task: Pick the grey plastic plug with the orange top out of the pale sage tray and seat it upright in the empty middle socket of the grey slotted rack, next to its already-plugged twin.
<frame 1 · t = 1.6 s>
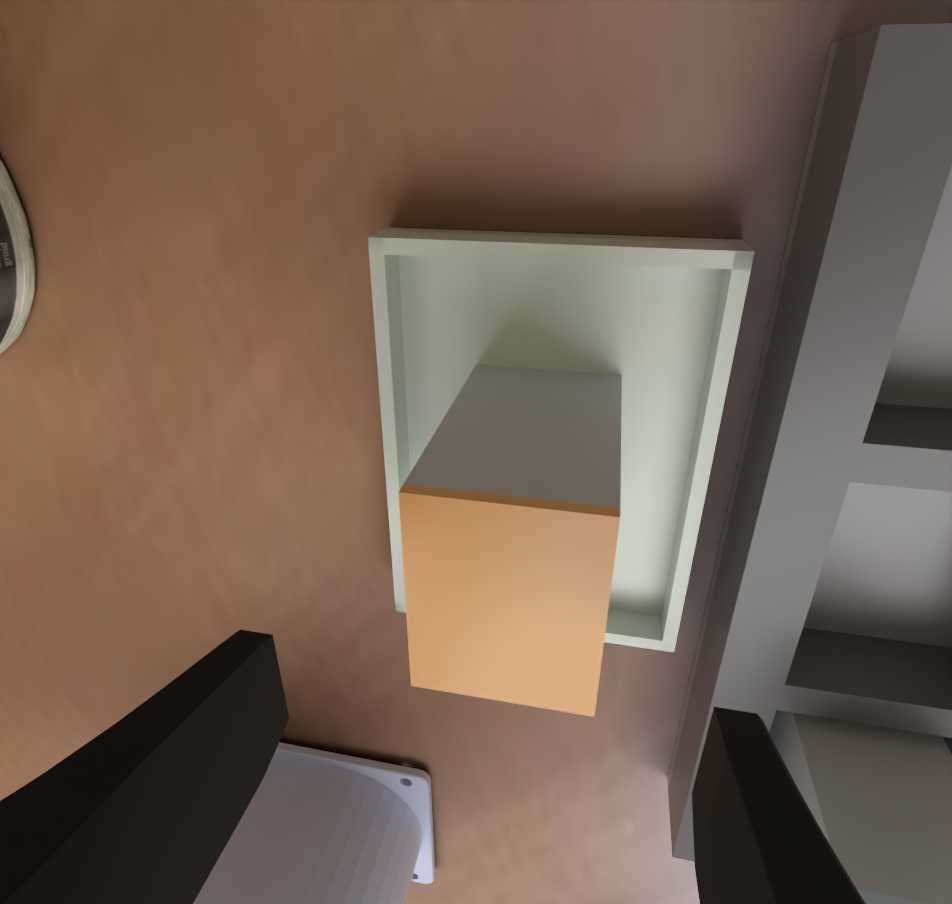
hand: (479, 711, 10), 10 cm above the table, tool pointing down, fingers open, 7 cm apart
tray: (544, 442, 19), on the table
grey slotted rack: (890, 538, 18), on the table
plug: (542, 450, 18), resting on tray
twin plug: (826, 730, 21), resting on grey slotted rack
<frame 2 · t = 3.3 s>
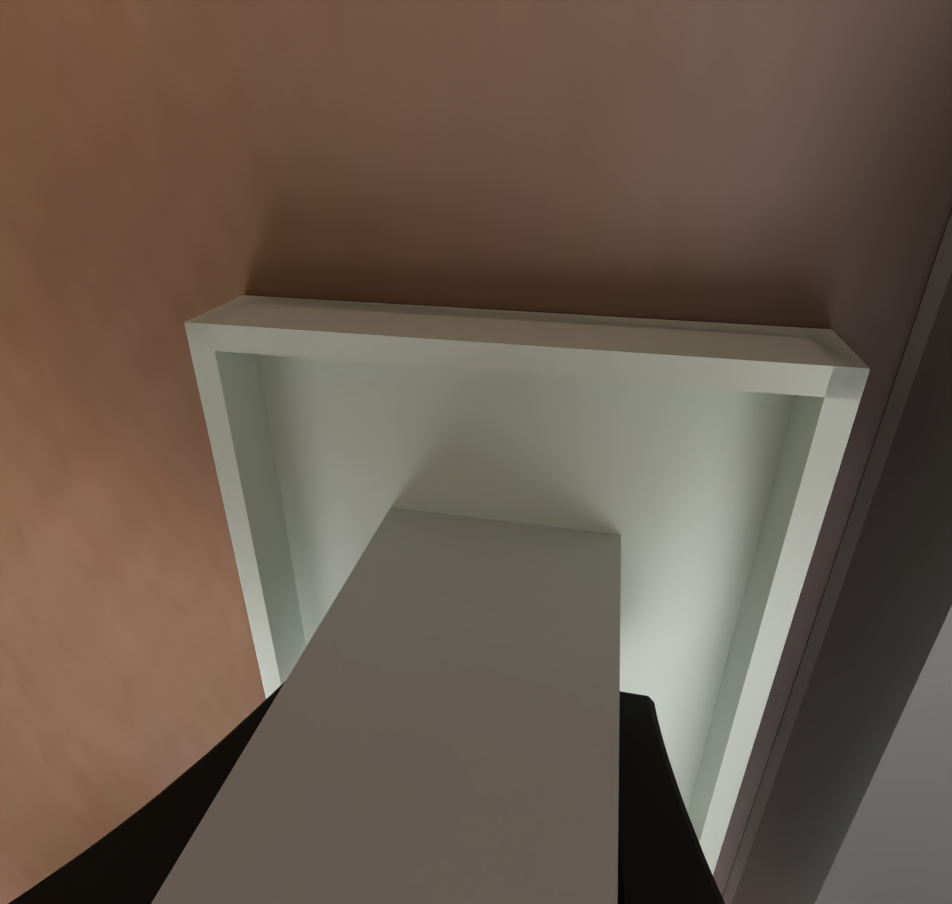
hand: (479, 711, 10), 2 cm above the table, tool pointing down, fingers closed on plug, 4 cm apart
tray: (503, 612, 12), on the table
plug: (499, 630, 12), resting on tray, touching gripper
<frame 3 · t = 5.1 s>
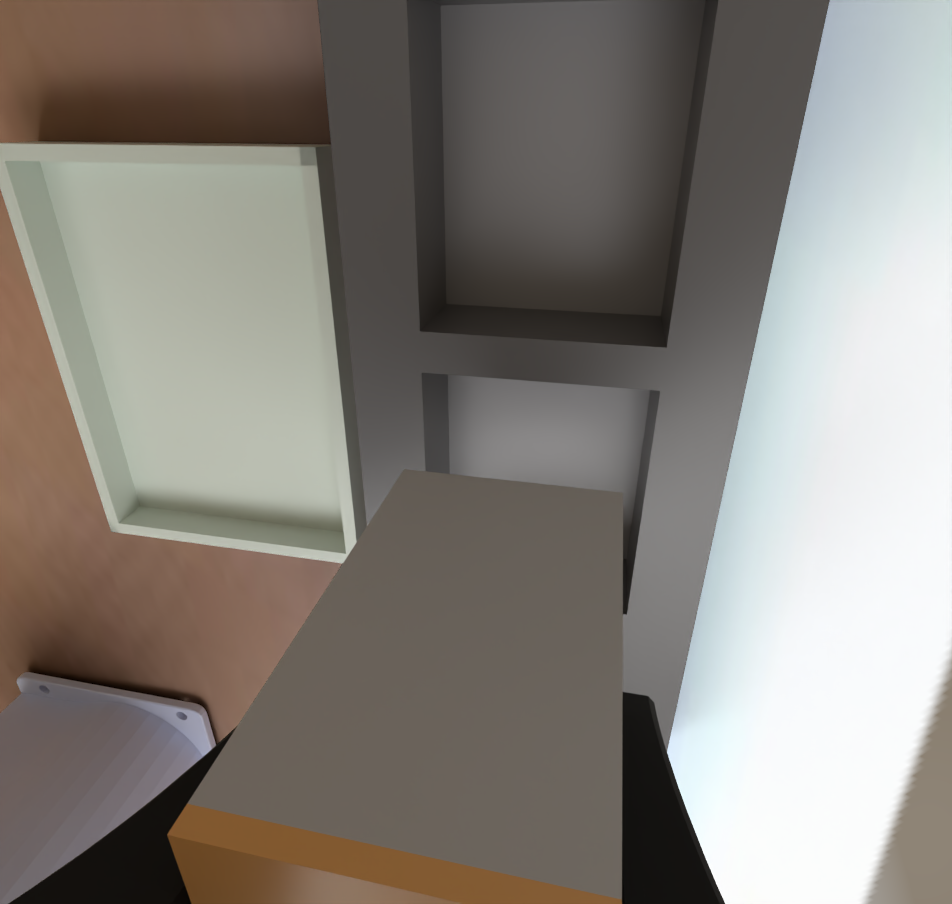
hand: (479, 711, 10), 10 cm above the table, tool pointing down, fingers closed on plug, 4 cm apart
tray: (223, 359, 19), on the table
grey slotted rack: (543, 448, 19), on the table
plug: (506, 589, 13), point 7 cm above the table, touching gripper
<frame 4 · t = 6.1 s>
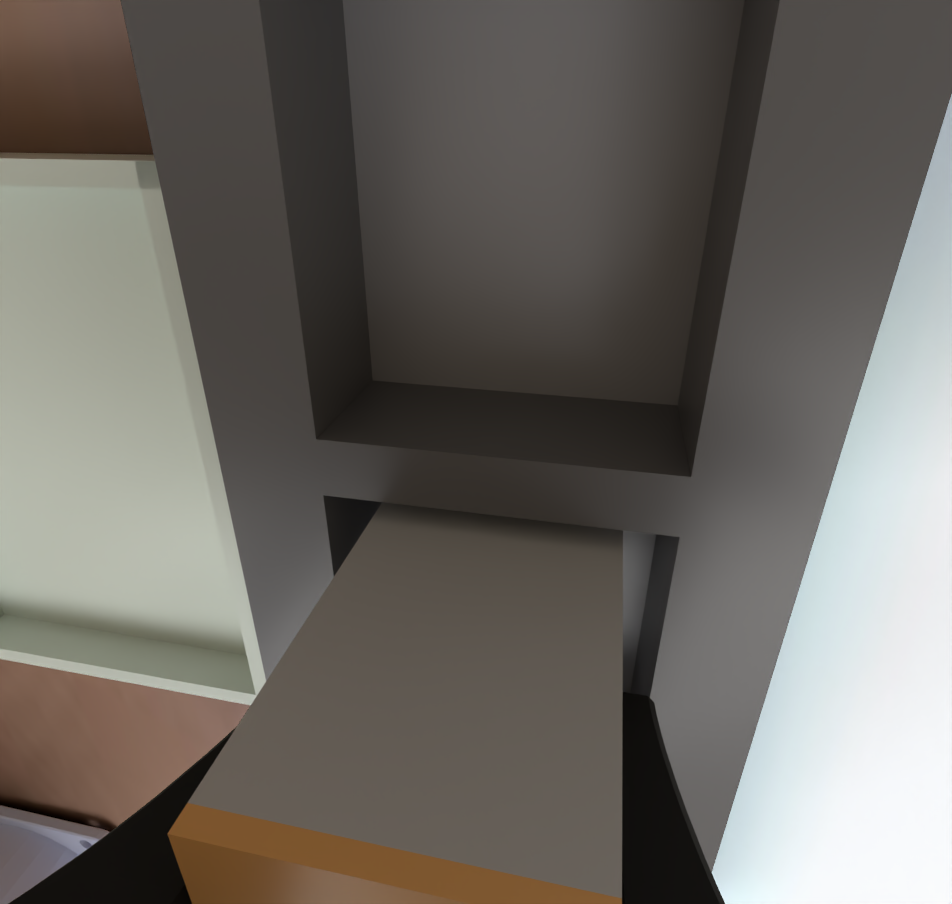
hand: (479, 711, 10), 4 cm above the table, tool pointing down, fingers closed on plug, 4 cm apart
tray: (89, 439, 15), on the table
grey slotted rack: (515, 565, 14), on the table
plug: (506, 589, 13), point 1 cm above the table, touching gripper
when the fingers open (4 cm above the table, at t = 6.9 s): plug stays where it is, resting on grey slotted rack.
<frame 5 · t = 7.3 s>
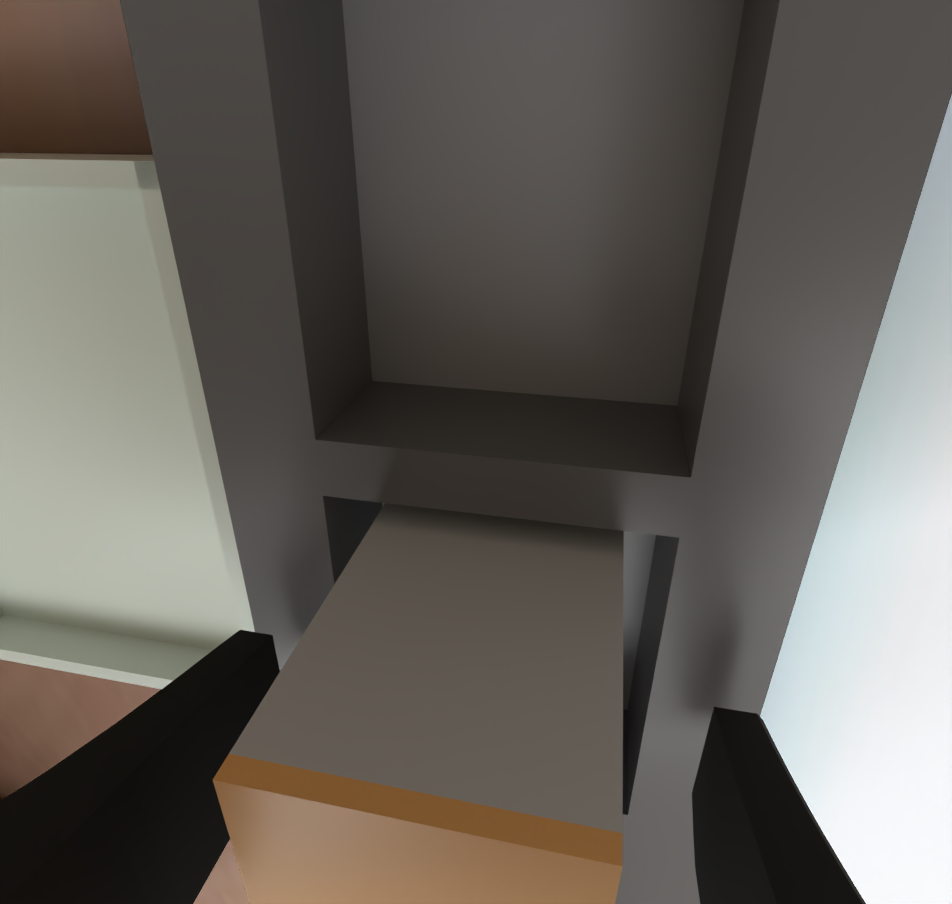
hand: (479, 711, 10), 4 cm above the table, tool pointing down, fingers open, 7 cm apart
tray: (88, 440, 15), on the table
grey slotted rack: (515, 565, 14), on the table
plug: (512, 570, 13), resting on grey slotted rack
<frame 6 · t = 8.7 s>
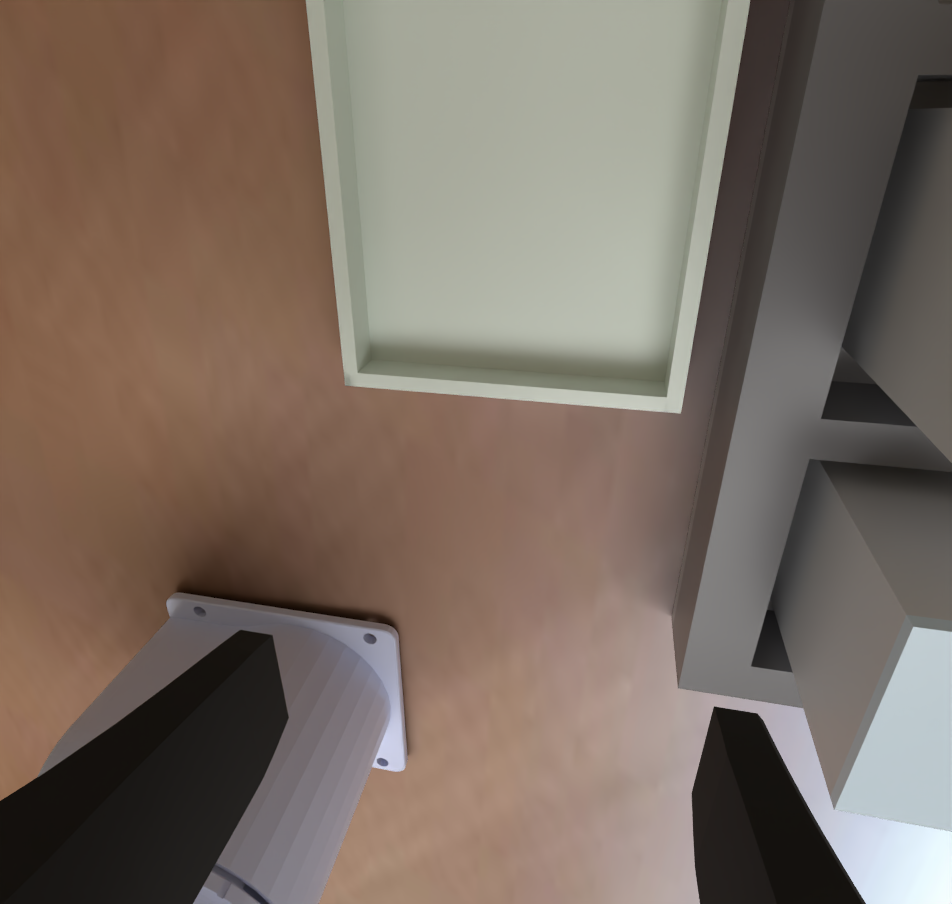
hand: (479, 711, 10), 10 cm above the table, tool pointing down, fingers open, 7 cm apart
tray: (521, 145, 15), on the table
grey slotted rack: (951, 246, 14), on the table
twin plug: (864, 529, 18), resting on grey slotted rack
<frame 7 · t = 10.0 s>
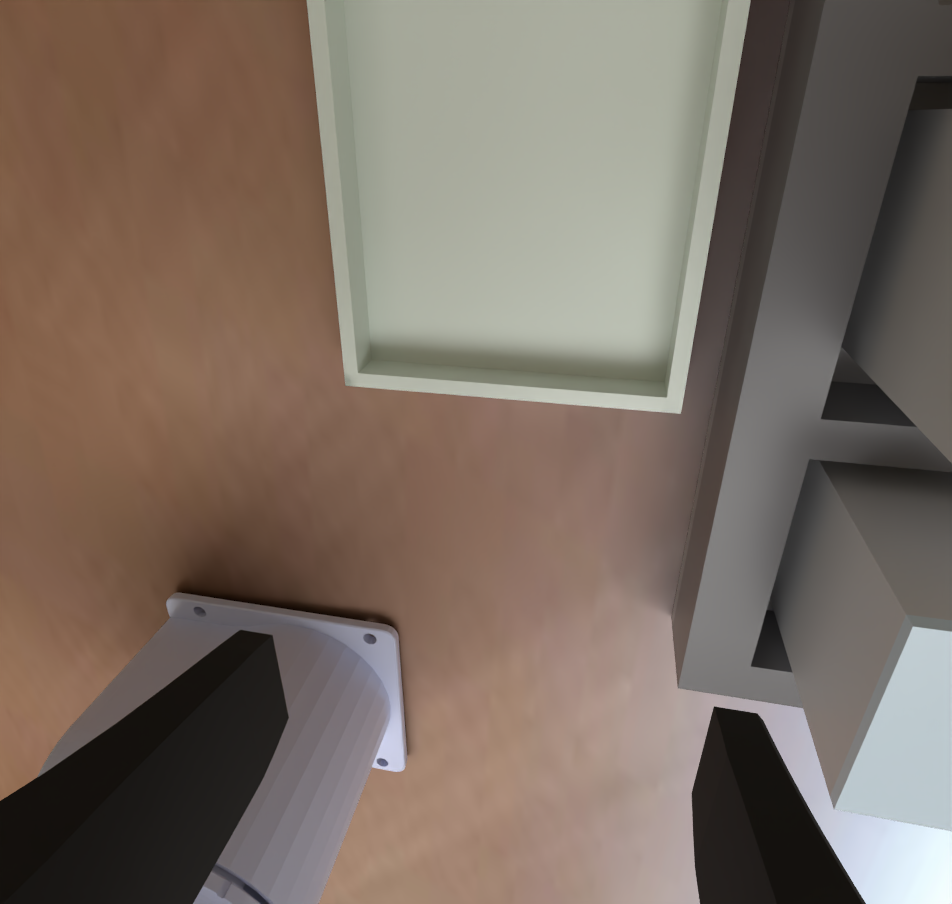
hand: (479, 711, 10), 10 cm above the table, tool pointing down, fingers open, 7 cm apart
tray: (521, 145, 15), on the table
grey slotted rack: (951, 247, 14), on the table
twin plug: (863, 529, 18), resting on grey slotted rack
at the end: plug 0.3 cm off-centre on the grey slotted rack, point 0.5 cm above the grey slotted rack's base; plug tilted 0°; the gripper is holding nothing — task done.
